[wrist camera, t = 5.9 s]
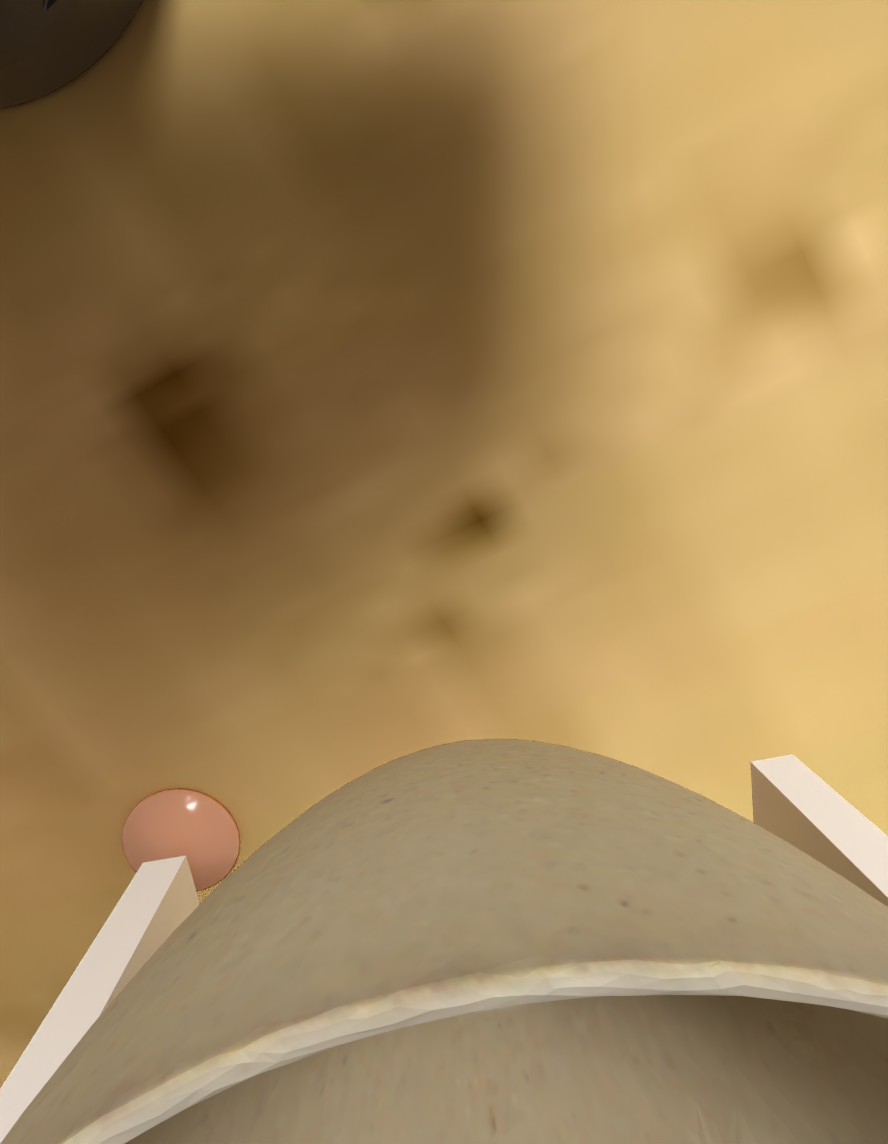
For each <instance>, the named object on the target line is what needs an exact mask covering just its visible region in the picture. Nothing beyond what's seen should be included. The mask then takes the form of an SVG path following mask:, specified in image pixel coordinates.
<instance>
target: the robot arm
mask: <svg viewBox="0 0 888 1144" xmlns="http://www.w3.org/2000/svg"><path fill="white" fill-rule="evenodd" d="M141 2H142V0H0V108H2V107H7V106H12V105H17V104H20V103H23V102H27V101H30V100H33V99H36V98H38V97H41V96H43V95H46V94H48V93H50V92H52V91H54V90H56V89H58V88H60V87H62V86H63V85H65V84H67V83H68V82H70V81H71V80H73V79H75V78H76V77H77V76H79V75H80V74H81V73H83V72H84V71H85V70H87V69H88V68H89V67H90V66H92V65H93V64H94V63H95V62H96V61H97V60H98V59H99V58H100V57H102V56H103V54H104V53H105V52H106V51H107V50H108V49H109V48H110V47H111V46H112V45H113V44H114V42H115V41H116V40H117V39H118V37H119V36H120V35H121V33H122V32H123V31H124V30H125V28H126V27H127V25H128V24H129V22H130V21H131V19H132V17H133V16H134V14H135V12H136V11H137V9H138V7H139V5H140V3H141ZM750 763H751V782H752V801H753V820H754V823H755V824H757V825H758V826H760V827H762V828H764V829H766V830H767V831H769V832H771V833H773V834H775V835H776V836H778V837H780V838H782V839H783V840H785V841H787V842H789V843H790V844H792V845H793V846H795V847H797V848H798V849H800V850H801V851H803V852H805V853H806V854H808V855H809V856H811V857H812V858H814V859H816V860H817V861H819V862H820V863H822V864H823V865H825V866H827V867H828V868H830V869H831V870H833V871H835V872H836V873H838V874H839V875H841V876H842V877H844V878H846V879H847V880H849V881H850V882H852V883H853V884H855V885H856V886H858V887H859V888H860V889H862V890H863V891H865V892H866V893H868V894H869V895H871V896H872V897H874V898H875V899H877V900H878V901H880V902H881V903H883V904H884V905H886V906H887V907H888V836H887V835H886V834H885V833H884V832H882V831H881V830H880V829H879V828H878V827H877V826H875V825H874V824H873V823H872V822H871V821H870V820H868V819H867V818H866V817H865V816H864V815H863V814H861V813H860V812H859V811H858V810H857V809H856V808H854V807H853V806H852V805H851V804H850V803H849V802H847V801H846V800H845V799H844V798H843V797H842V796H841V795H839V794H838V793H837V792H836V791H835V790H834V789H832V788H831V787H830V786H829V785H828V784H827V783H825V782H824V781H823V780H822V779H821V778H820V777H818V776H817V775H816V774H815V773H814V772H813V771H811V770H810V769H809V768H808V767H807V766H806V765H804V764H803V763H802V762H801V761H800V760H799V759H797V758H796V757H795V756H794V755H787V756H781V757H775V758H769V759H763V760H757V761H751V762H750ZM199 905H200V903H199V899H198V896H197V892H196V889H195V885H194V882H193V878H192V874H191V871H190V867H189V864H188V860H187V857H186V856H180V857H174V858H168V859H162V860H156V861H150V862H144V863H142V865H141V867H140V868H139V870H138V871H137V873H136V874H135V876H134V878H133V879H132V881H131V882H130V884H129V886H128V887H127V889H126V890H125V892H124V893H123V895H122V897H121V898H120V900H119V901H118V903H117V905H116V906H115V908H114V909H113V911H112V913H111V914H110V916H109V917H108V919H107V920H106V922H105V924H104V925H103V927H102V928H101V930H100V932H99V933H98V935H97V936H96V938H95V939H94V941H93V943H92V944H91V946H90V947H89V949H88V951H87V952H86V954H85V955H84V957H83V959H82V960H81V962H80V963H79V965H78V966H77V968H76V970H75V971H74V973H73V974H72V976H71V978H70V979H69V981H68V982H67V984H66V985H65V987H64V989H63V990H62V992H61V993H60V995H59V997H58V998H57V1000H56V1001H55V1003H54V1004H53V1006H52V1008H51V1009H50V1011H49V1012H48V1014H47V1016H46V1017H45V1019H44V1020H43V1022H42V1024H41V1025H40V1027H39V1028H38V1030H37V1031H36V1033H35V1035H34V1036H33V1038H32V1039H31V1041H30V1043H29V1044H28V1046H27V1047H26V1049H25V1050H24V1052H23V1054H22V1055H21V1057H20V1058H19V1060H18V1062H17V1063H16V1065H15V1066H14V1068H13V1070H12V1071H11V1073H10V1074H9V1076H8V1077H7V1079H6V1081H5V1082H4V1084H3V1085H2V1087H1V1089H0V1143H1V1142H2V1141H3V1139H4V1138H5V1136H6V1135H7V1134H8V1132H9V1131H10V1130H11V1128H12V1127H13V1125H14V1124H15V1123H16V1121H17V1120H18V1119H19V1117H20V1116H21V1114H22V1113H23V1112H24V1111H25V1109H26V1108H27V1107H28V1105H29V1104H30V1103H31V1102H32V1100H33V1099H34V1098H35V1097H36V1095H37V1094H38V1093H39V1092H40V1090H41V1089H42V1088H43V1086H44V1085H45V1084H46V1083H47V1081H48V1080H49V1079H50V1078H51V1076H52V1075H53V1074H54V1073H55V1071H56V1070H57V1069H58V1068H59V1066H60V1065H61V1064H62V1062H63V1061H64V1060H65V1059H66V1057H67V1056H68V1055H69V1054H70V1052H71V1051H72V1050H73V1049H74V1047H75V1046H76V1045H77V1043H78V1042H79V1041H80V1040H81V1038H82V1037H83V1036H84V1035H85V1033H86V1032H87V1031H88V1030H89V1028H90V1027H91V1026H92V1025H93V1023H94V1022H95V1021H96V1020H97V1019H98V1018H99V1016H100V1015H101V1014H102V1013H103V1012H104V1011H105V1009H106V1008H107V1007H108V1006H109V1005H110V1004H111V1002H112V1001H113V1000H114V999H115V998H116V997H117V996H118V994H119V993H120V992H121V991H122V990H123V989H124V987H125V986H126V985H127V984H128V983H129V982H130V980H131V979H132V978H133V977H134V976H135V975H136V973H137V972H138V971H139V970H140V969H141V968H142V967H143V965H144V964H145V963H146V962H147V961H148V960H149V959H150V958H151V956H152V955H153V954H154V953H155V952H156V951H157V950H158V948H159V947H160V946H161V945H162V944H163V943H164V942H165V941H166V939H167V938H168V937H169V936H170V935H171V934H172V933H173V931H174V930H175V929H176V928H177V927H178V926H179V925H180V924H181V923H182V922H183V921H184V920H185V919H186V918H187V917H188V916H189V915H190V914H191V913H192V912H193V911H194V910H195V909H196V908H197V907H198V906H199Z"/></svg>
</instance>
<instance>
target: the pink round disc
mask: <svg viewBox="0 0 888 1144" xmlns="http://www.w3.org/2000/svg"><path fill="white" fill-rule="evenodd" d="M122 844H123V849H124V853H125V856H126V858H127V860H128V862H129V864H130V865H131V867H132V868H133V869H134V870H135V872H136V873H137V871H138V870H139V868H140V867H141V865H142V863H144V862H150V861H156V860H162V859H168V858H174V857H180V856H186V857H187V860H188V864H189V867H190V871H191V874H192V878H193V882H194V885H195V889H196V891H198V890H202V889H205V888H208V887H210V886H212V885H214V884H216V883H217V882H219V881H220V880H221V879H223V878H224V877H225V876H226V875H227V874H228V872H229V871H230V870H231V868H232V867H233V865H234V863H235V861H236V858H237V856H238V852H239V847H240V836H239V831H238V828H237V825H236V823H235V821H234V819H233V817H232V816H231V814H230V813H229V812H228V810H227V809H226V808H225V807H224V806H223V805H222V804H220V803H219V802H218V801H216V800H215V799H213V798H212V797H210V796H208V795H206V794H203V793H200V792H197V791H193V790H187V789H170V790H165V791H160V792H158V793H155V794H153V795H151V796H149V797H147V798H145V799H144V800H143V801H141V802H140V803H139V804H138V805H137V806H136V807H135V808H134V810H133V811H132V812H131V813H130V815H129V817H128V818H127V820H126V823H125V825H124V829H123V834H122Z"/></svg>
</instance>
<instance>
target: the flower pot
mask: <svg viewBox="0 0 888 1144" xmlns="http://www.w3.org/2000/svg"><path fill="white" fill-rule="evenodd" d="M0 1144H888V907H887V906H886V905H884V904H883V903H881V902H880V901H878V900H877V899H875V898H874V897H872V896H871V895H869V894H868V893H866V892H865V891H863V890H862V889H860V888H859V887H858V886H856V885H855V884H853V883H852V882H850V881H849V880H847V879H846V878H844V877H842V876H841V875H839V874H838V873H836V872H835V871H833V870H831V869H830V868H828V867H827V866H825V865H823V864H822V863H820V862H819V861H817V860H816V859H814V858H812V857H811V856H809V855H808V854H806V853H805V852H803V851H801V850H800V849H798V848H797V847H795V846H793V845H792V844H790V843H789V842H787V841H785V840H783V839H782V838H780V837H778V836H776V835H775V834H773V833H771V832H769V831H767V830H766V829H764V828H762V827H760V826H758V825H757V824H755V823H753V822H751V821H750V820H748V819H746V818H744V817H742V816H740V815H738V814H736V813H735V812H733V811H731V810H729V809H727V808H725V807H723V806H721V805H719V804H717V803H716V802H714V801H712V800H710V799H708V798H706V797H704V796H702V795H700V794H698V793H696V792H693V791H691V790H689V789H687V788H684V787H682V786H680V785H678V784H676V783H673V782H671V781H669V780H666V779H664V778H662V777H659V776H657V775H654V774H652V773H650V772H647V771H645V770H642V769H640V768H638V767H635V766H632V765H629V764H626V763H623V762H620V761H617V760H614V759H611V758H608V757H605V756H602V755H599V754H595V753H590V752H586V751H582V750H578V749H574V748H570V747H566V746H561V745H555V744H549V743H544V742H538V741H528V740H517V739H484V740H468V741H460V742H455V743H449V744H443V745H439V746H434V747H431V748H428V749H424V750H421V751H418V752H415V753H412V754H409V755H406V756H403V757H399V758H397V759H395V760H393V761H390V762H388V763H386V764H384V765H381V766H379V767H377V768H375V769H373V770H371V771H369V772H368V773H366V774H364V775H362V776H360V777H358V778H357V779H355V780H353V781H351V782H349V783H348V784H346V785H344V786H343V787H341V788H340V789H338V790H336V791H335V792H333V793H332V794H330V795H328V796H327V797H325V798H324V799H322V800H321V801H320V802H318V803H317V804H315V805H314V806H313V807H311V808H310V809H308V810H307V811H305V812H304V813H303V814H301V815H300V816H299V817H298V818H296V819H295V820H294V821H293V822H291V823H290V824H289V825H287V826H286V827H285V828H284V829H282V830H281V831H280V832H279V833H277V834H276V835H275V836H274V837H272V838H271V839H270V840H269V841H267V842H266V843H265V844H264V845H262V846H261V847H260V848H259V849H258V850H257V851H256V852H254V853H253V854H252V855H251V856H250V857H249V858H248V859H247V860H246V861H245V862H244V863H243V864H241V865H240V866H239V867H238V868H237V869H236V870H235V871H234V872H233V873H232V874H231V875H229V876H228V877H227V878H226V879H225V880H224V881H223V882H222V883H221V884H220V885H219V886H218V887H217V888H216V889H215V890H214V891H213V892H212V893H211V894H210V895H209V896H208V897H207V898H206V899H205V900H204V901H203V902H202V903H201V904H200V905H199V906H198V907H197V908H196V909H195V910H194V911H193V912H192V913H191V914H190V915H189V916H188V917H187V918H186V919H185V920H184V921H183V922H182V923H181V924H180V925H179V926H178V927H177V928H176V929H175V930H174V931H173V933H172V934H171V935H170V936H169V937H168V938H167V939H166V941H165V942H164V943H163V944H162V945H161V946H160V947H159V948H158V950H157V951H156V952H155V953H154V954H153V955H152V956H151V958H150V959H149V960H148V961H147V962H146V963H145V964H144V965H143V967H142V968H141V969H140V970H139V971H138V972H137V973H136V975H135V976H134V977H133V978H132V979H131V980H130V982H129V983H128V984H127V985H126V986H125V987H124V989H123V990H122V991H121V992H120V993H119V994H118V996H117V997H116V998H115V999H114V1000H113V1001H112V1002H111V1004H110V1005H109V1006H108V1007H107V1008H106V1009H105V1011H104V1012H103V1013H102V1014H101V1015H100V1016H99V1018H98V1019H97V1020H96V1021H95V1022H94V1023H93V1025H92V1026H91V1027H90V1028H89V1030H88V1031H87V1032H86V1033H85V1035H84V1036H83V1037H82V1038H81V1040H80V1041H79V1042H78V1043H77V1045H76V1046H75V1047H74V1049H73V1050H72V1051H71V1052H70V1054H69V1055H68V1056H67V1057H66V1059H65V1060H64V1061H63V1062H62V1064H61V1065H60V1066H59V1068H58V1069H57V1070H56V1071H55V1073H54V1074H53V1075H52V1076H51V1078H50V1079H49V1080H48V1081H47V1083H46V1084H45V1085H44V1086H43V1088H42V1089H41V1090H40V1092H39V1093H38V1094H37V1095H36V1097H35V1098H34V1099H33V1100H32V1102H31V1103H30V1104H29V1105H28V1107H27V1108H26V1109H25V1111H24V1112H23V1113H22V1114H21V1116H20V1117H19V1119H18V1120H17V1121H16V1123H15V1124H14V1125H13V1127H12V1128H11V1130H10V1131H9V1132H8V1134H7V1135H6V1136H5V1138H4V1139H3V1141H2V1142H1V1143H0Z"/></svg>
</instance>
